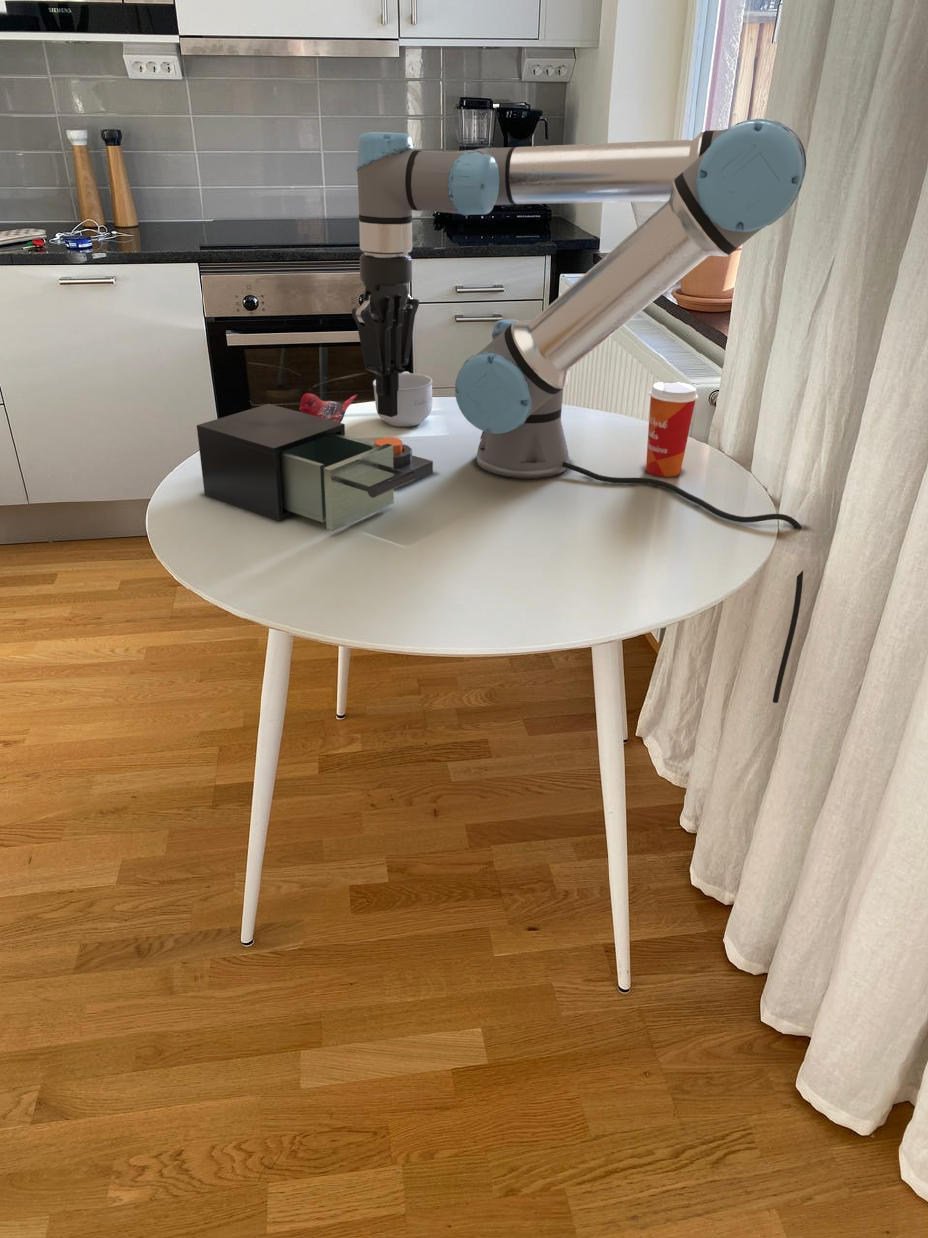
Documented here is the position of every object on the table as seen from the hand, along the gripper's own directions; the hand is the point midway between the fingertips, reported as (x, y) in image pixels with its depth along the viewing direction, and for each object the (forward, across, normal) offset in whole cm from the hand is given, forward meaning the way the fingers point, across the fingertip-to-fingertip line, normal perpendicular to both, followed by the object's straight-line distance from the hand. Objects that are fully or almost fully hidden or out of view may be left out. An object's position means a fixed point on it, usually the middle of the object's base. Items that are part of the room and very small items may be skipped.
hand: (387, 414), depth 146 cm
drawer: (+9, +17, +6) cm, 20 cm away
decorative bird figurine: (+10, -6, -18) cm, 21 cm away
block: (+10, 0, 0) cm, 10 cm away
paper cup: (+10, -30, +34) cm, 46 cm away
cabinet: (+10, +18, -8) cm, 21 cm away
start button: (+6, 0, 0) cm, 6 cm away
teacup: (+10, -24, -16) cm, 30 cm away
